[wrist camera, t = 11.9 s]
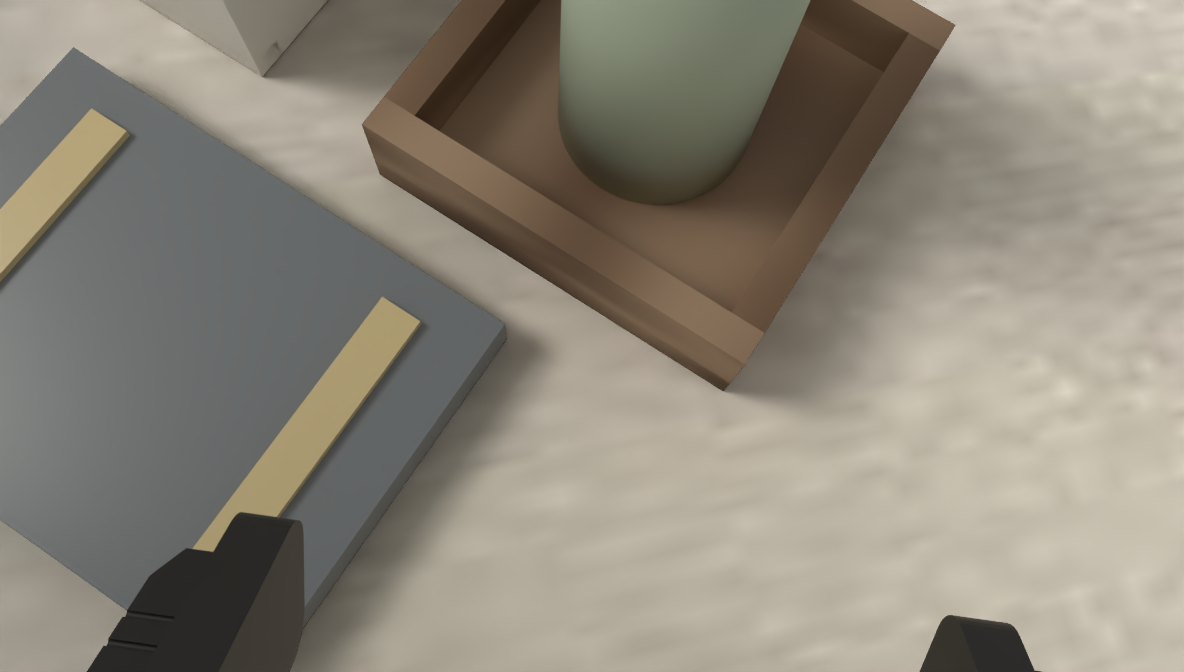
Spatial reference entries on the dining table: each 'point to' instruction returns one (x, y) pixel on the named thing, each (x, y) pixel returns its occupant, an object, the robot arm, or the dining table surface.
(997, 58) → the dining table surface
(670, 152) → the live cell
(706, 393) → the dining table surface
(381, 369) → the grey board
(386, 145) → the brown wooden tray
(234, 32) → the white planter box
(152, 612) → the robot arm
